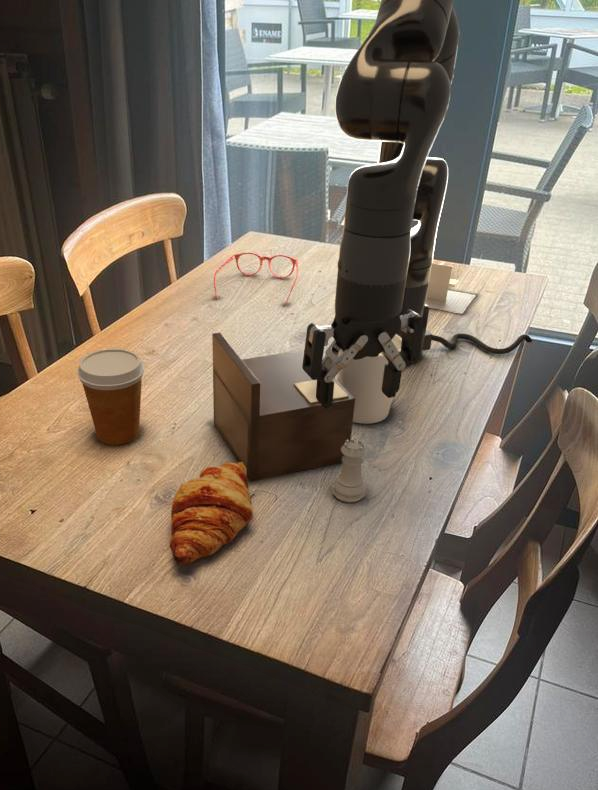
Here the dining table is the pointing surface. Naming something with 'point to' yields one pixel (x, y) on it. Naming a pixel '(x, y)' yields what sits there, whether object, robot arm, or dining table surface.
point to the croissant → (209, 511)
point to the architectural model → (445, 291)
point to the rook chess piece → (350, 473)
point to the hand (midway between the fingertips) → (357, 400)
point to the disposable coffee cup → (113, 393)
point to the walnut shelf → (276, 413)
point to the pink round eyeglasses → (260, 267)
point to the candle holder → (367, 386)
